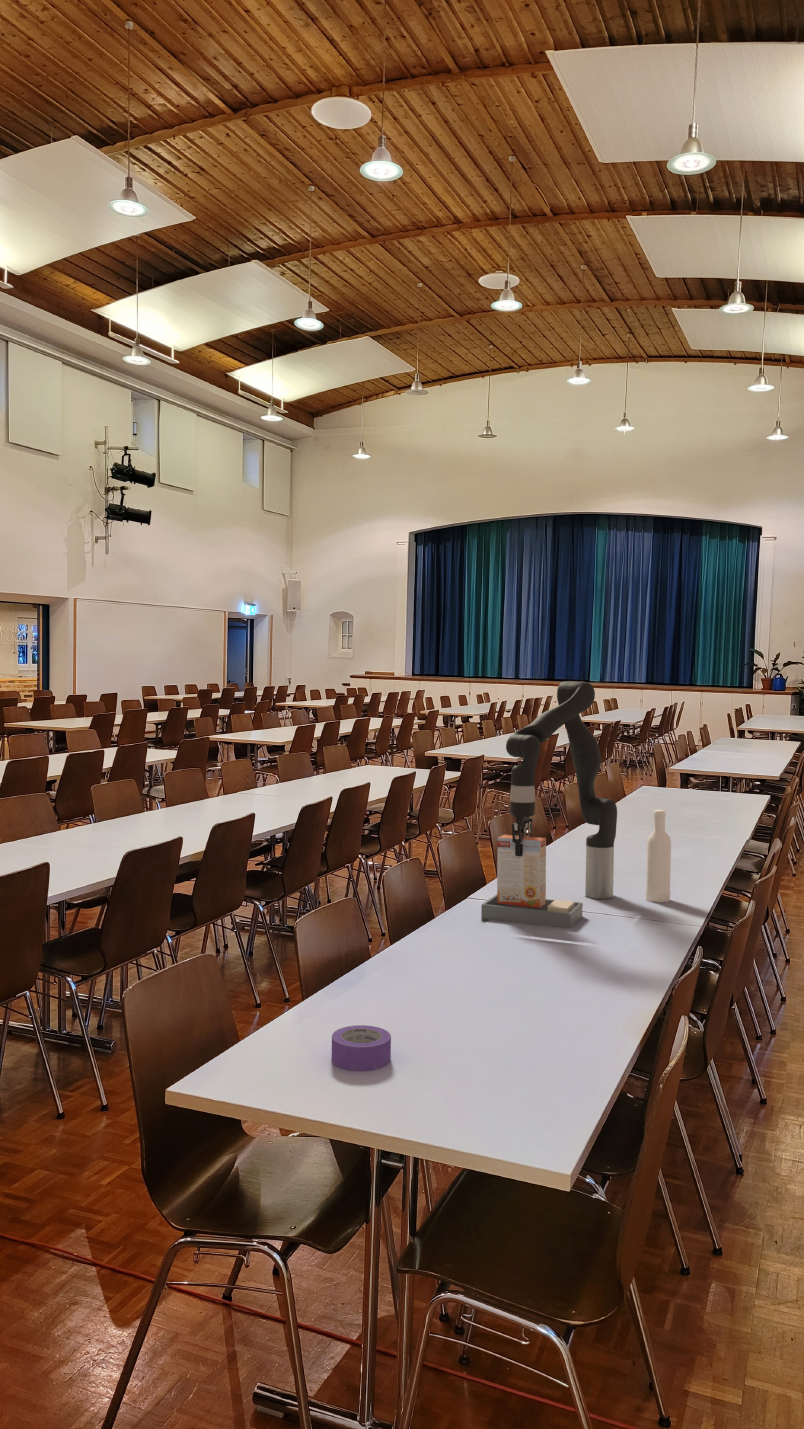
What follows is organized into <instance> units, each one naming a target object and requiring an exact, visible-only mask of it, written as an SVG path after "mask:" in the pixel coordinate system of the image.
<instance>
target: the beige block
mask: <svg viewBox="0 0 804 1429" xmlns="http://www.w3.org/2000/svg"><path fill="white" fill-rule="evenodd" d="M554 900H555V901H553V902H552V903H551V904H550V905H549V906H548V909H547V911H553V912H562V913H569V912H570V911H572V910H573V909H574V902H575V901H569V900H561V899H554Z"/></svg>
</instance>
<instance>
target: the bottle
mask: <svg viewBox="0 0 804 1429" xmlns="http://www.w3.org/2000/svg"><path fill="white" fill-rule="evenodd" d="M666 816H667V815H666V810H664V809H654V811H653V831H652V832H650V833H649V834H648V838H647V840H646V874H645V875H646V879H645V880H646V882H645V883H646V884H645V885H646V886H645V888H646V889H645V900H647V901H648V902H652V903H659V904H660V903H668V902H670V901H671V868H672V867H671V862H672V860H671V858H672V857H671V855H672V841H671V837H670V835H669V834H668V833H667V832H666Z"/></svg>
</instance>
